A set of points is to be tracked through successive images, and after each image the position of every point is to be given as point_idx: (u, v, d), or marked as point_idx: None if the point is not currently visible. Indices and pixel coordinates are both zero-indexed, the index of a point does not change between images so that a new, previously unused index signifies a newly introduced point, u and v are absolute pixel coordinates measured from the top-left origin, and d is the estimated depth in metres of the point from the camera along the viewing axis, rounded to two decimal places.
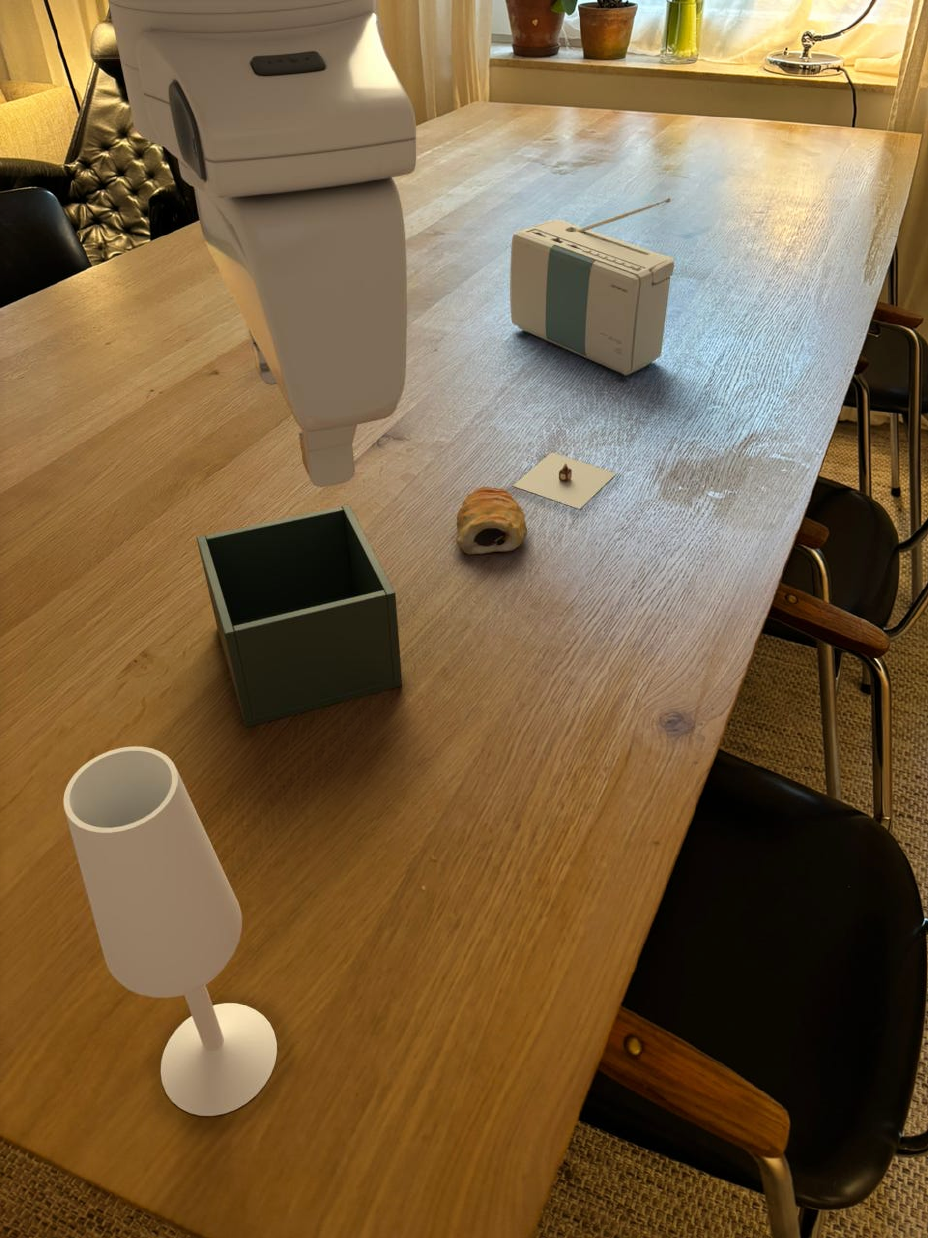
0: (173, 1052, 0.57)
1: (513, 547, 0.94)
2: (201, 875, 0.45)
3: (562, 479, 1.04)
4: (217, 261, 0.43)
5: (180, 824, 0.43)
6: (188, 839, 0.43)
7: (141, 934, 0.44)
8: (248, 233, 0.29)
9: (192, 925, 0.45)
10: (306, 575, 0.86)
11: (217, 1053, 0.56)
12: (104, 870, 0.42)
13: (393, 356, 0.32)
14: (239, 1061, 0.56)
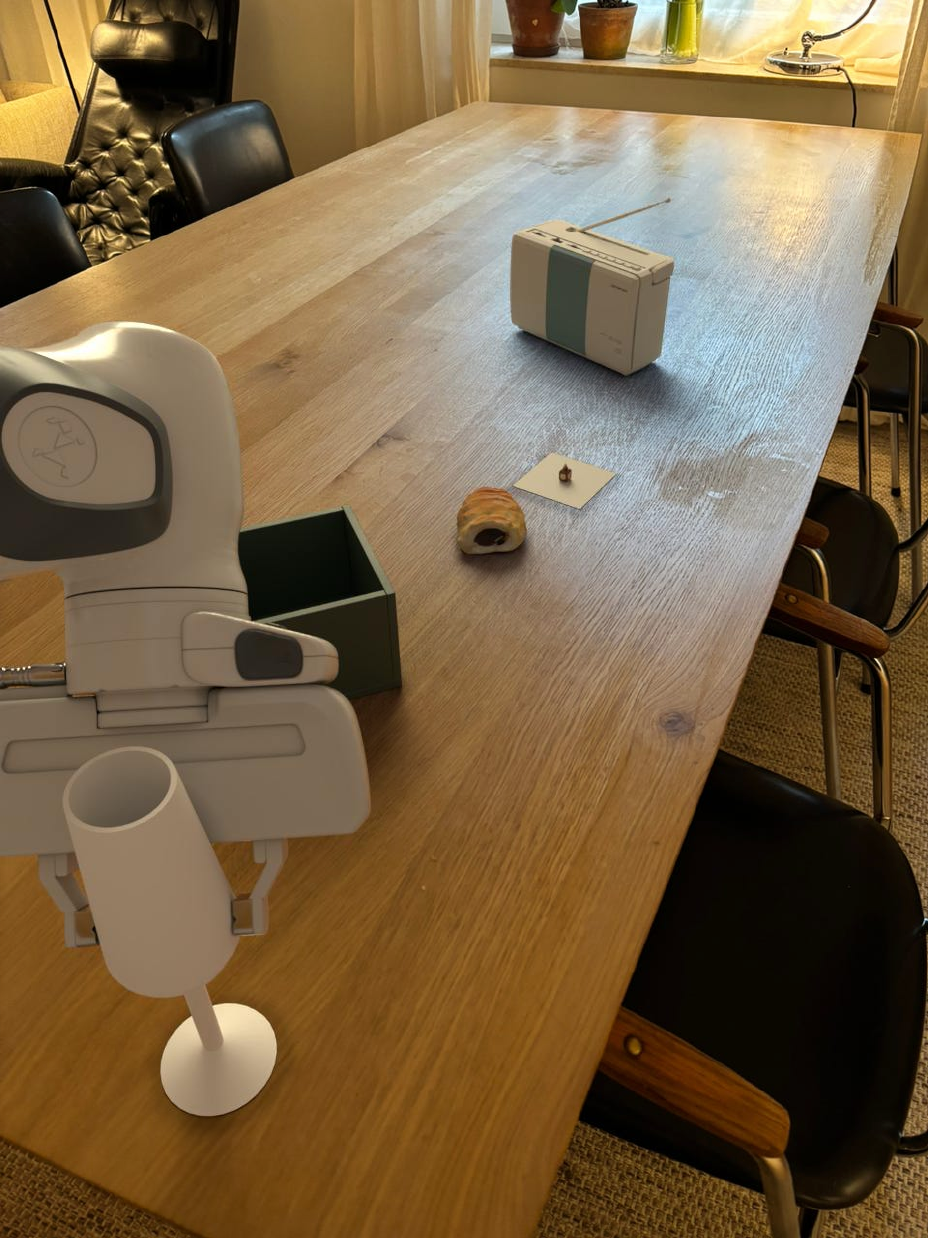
0: (173, 1052, 0.57)
1: (513, 547, 0.94)
2: (200, 875, 0.45)
3: (562, 479, 1.04)
4: (48, 835, 0.47)
5: (179, 824, 0.43)
6: (187, 839, 0.43)
7: (140, 934, 0.44)
8: (334, 697, 0.47)
9: (191, 925, 0.45)
10: (306, 575, 0.86)
11: (217, 1053, 0.56)
12: (103, 870, 0.42)
13: None
14: (239, 1061, 0.56)
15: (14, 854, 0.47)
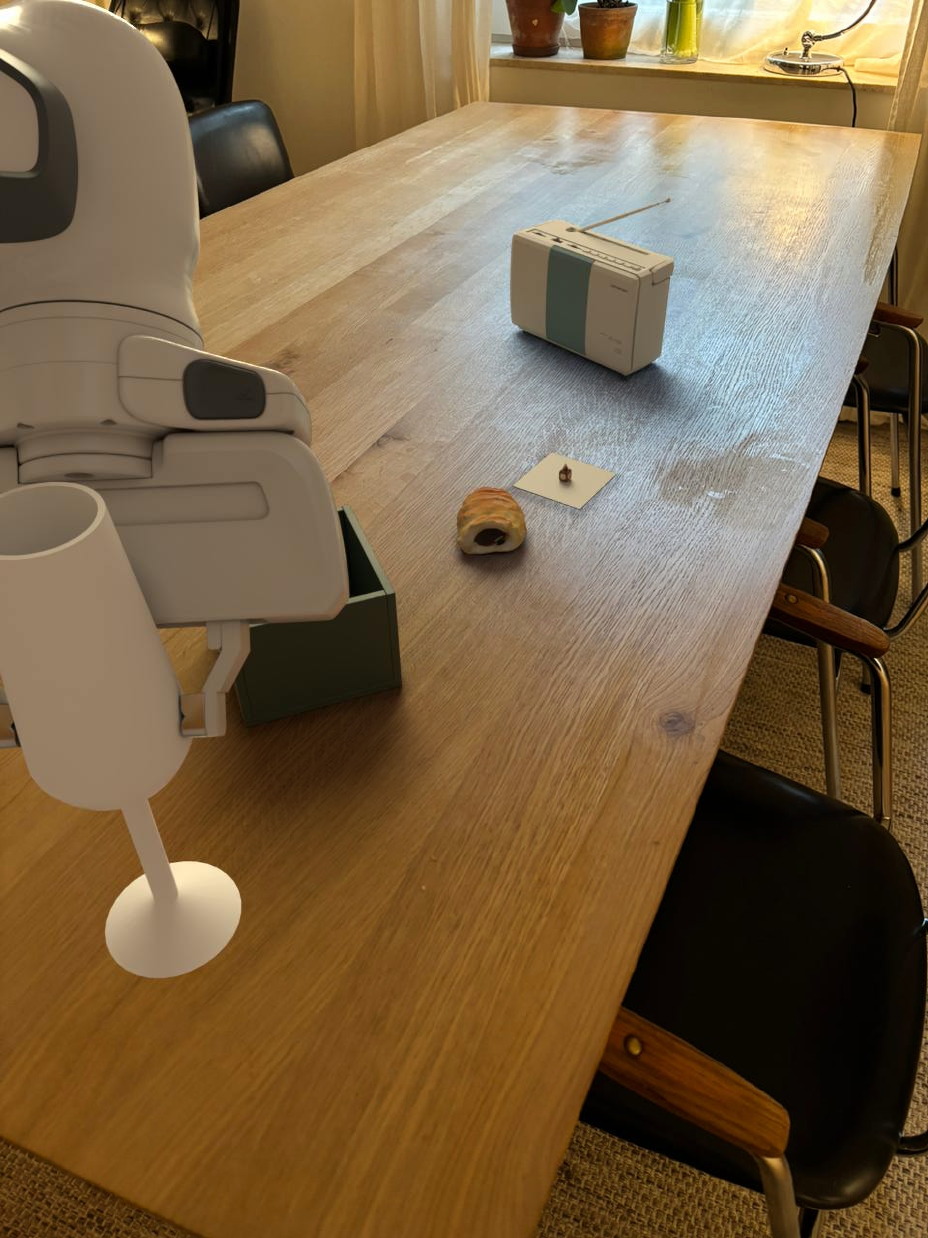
0: (120, 910, 0.49)
1: (513, 547, 0.94)
2: (137, 644, 0.37)
3: (562, 479, 1.04)
4: None
5: (108, 567, 0.34)
6: (119, 591, 0.35)
7: (63, 713, 0.36)
8: (304, 447, 0.39)
9: (127, 708, 0.37)
10: None
11: (170, 907, 0.48)
12: (12, 618, 0.34)
13: (346, 561, 0.43)
14: (196, 917, 0.48)
15: None
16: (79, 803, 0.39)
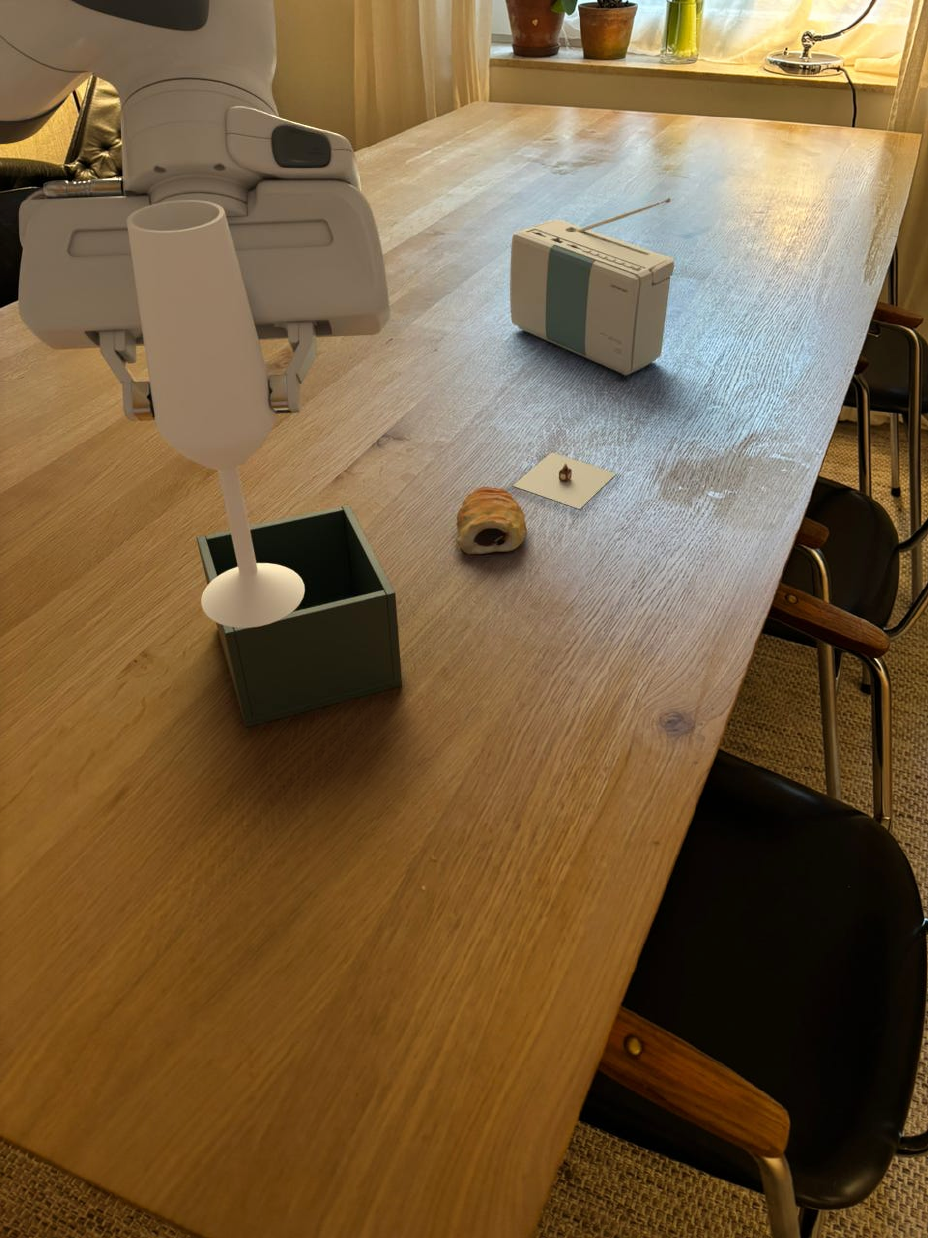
0: (212, 588, 0.64)
1: (513, 547, 0.94)
2: (243, 319, 0.51)
3: (562, 479, 1.04)
4: (109, 308, 0.54)
5: (226, 252, 0.49)
6: (233, 273, 0.50)
7: (192, 365, 0.51)
8: (358, 191, 0.54)
9: (235, 368, 0.52)
10: (306, 575, 0.86)
11: (252, 578, 0.63)
12: (162, 283, 0.48)
13: None
14: (272, 587, 0.63)
15: (79, 325, 0.54)
16: (198, 448, 0.54)
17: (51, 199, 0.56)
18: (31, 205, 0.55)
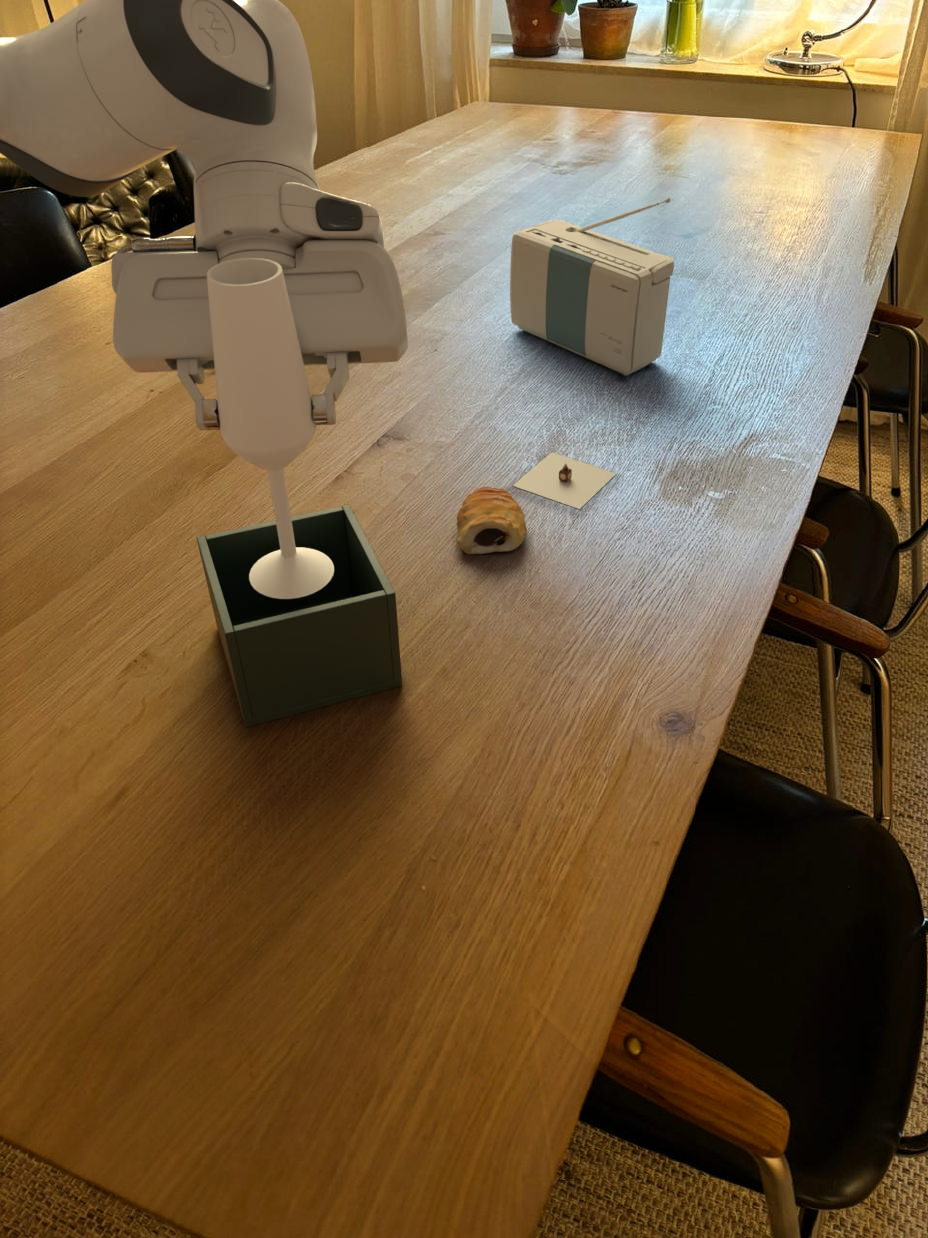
0: (258, 566, 0.78)
1: (513, 547, 0.94)
2: (294, 351, 0.65)
3: (562, 479, 1.04)
4: (185, 340, 0.67)
5: (283, 299, 0.63)
6: (287, 315, 0.64)
7: (254, 387, 0.65)
8: (384, 249, 0.68)
9: (287, 389, 0.66)
10: None
11: (292, 558, 0.77)
12: (233, 323, 0.62)
13: None
14: (308, 566, 0.77)
15: (161, 354, 0.68)
16: (256, 452, 0.67)
17: (137, 252, 0.69)
18: (121, 257, 0.69)
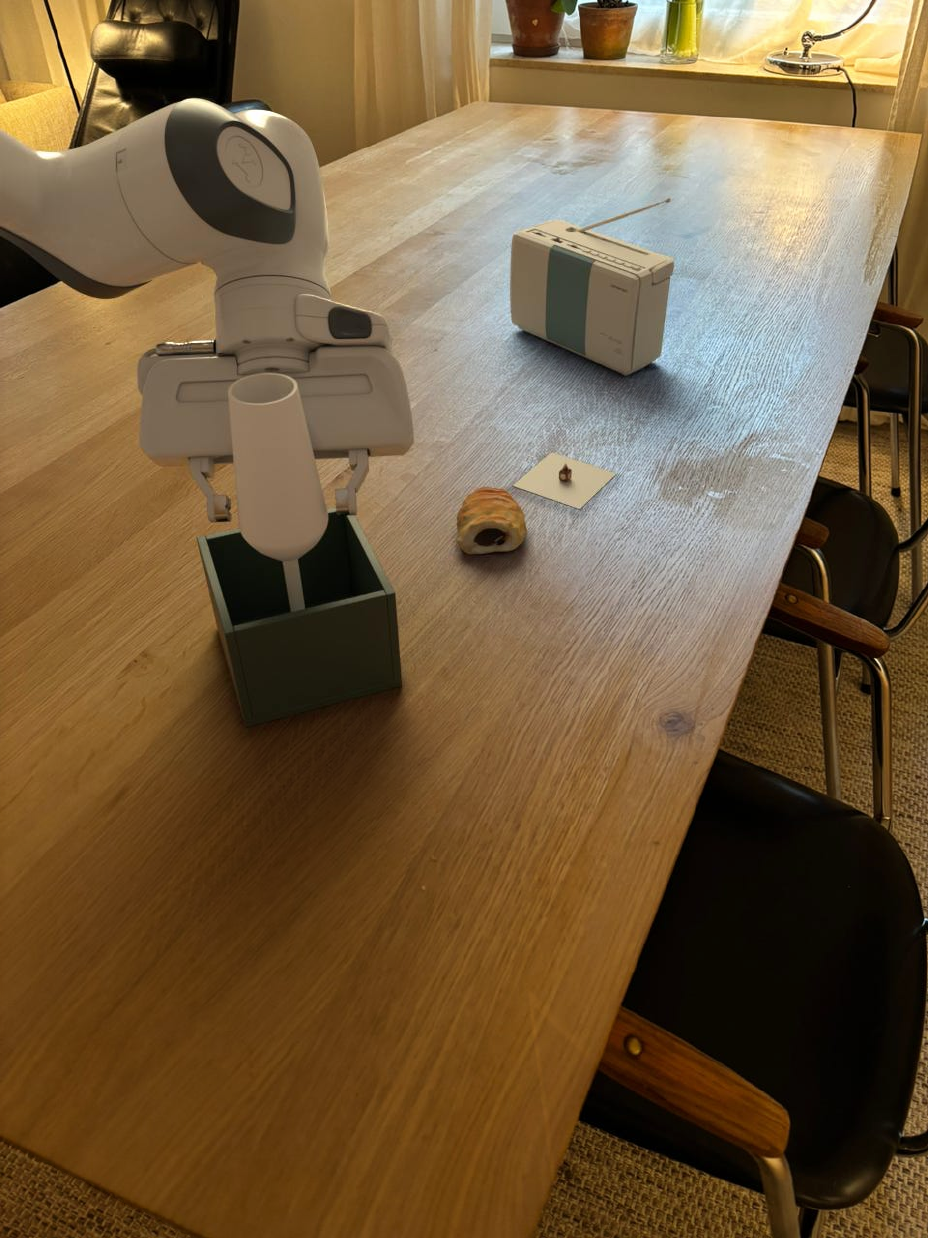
0: None
1: (513, 547, 0.94)
2: (308, 458, 0.70)
3: (562, 479, 1.04)
4: (207, 440, 0.72)
5: (298, 413, 0.68)
6: (302, 427, 0.69)
7: (271, 492, 0.70)
8: (391, 354, 0.73)
9: (302, 492, 0.71)
10: (306, 575, 0.86)
11: None
12: (253, 437, 0.68)
13: None
14: None
15: (184, 453, 0.73)
16: (272, 548, 0.73)
17: (161, 356, 0.74)
18: (146, 361, 0.74)
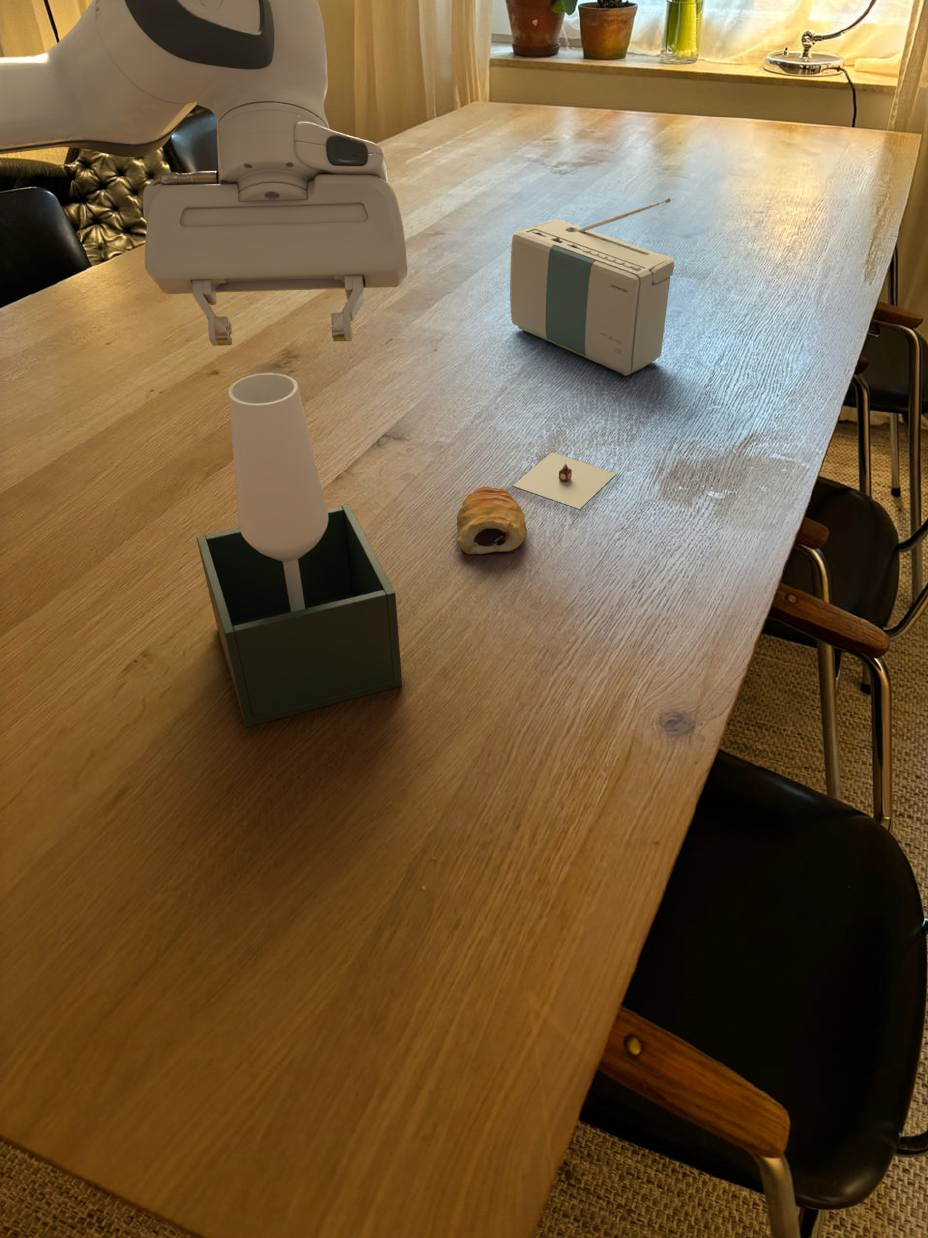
0: None
1: (513, 547, 0.94)
2: (308, 458, 0.70)
3: (562, 479, 1.04)
4: (209, 263, 0.76)
5: (299, 413, 0.68)
6: (302, 427, 0.69)
7: (271, 492, 0.70)
8: (386, 183, 0.76)
9: (302, 492, 0.71)
10: (306, 575, 0.86)
11: None
12: (253, 437, 0.68)
13: None
14: None
15: (187, 275, 0.76)
16: (272, 548, 0.73)
17: (166, 185, 0.78)
18: (152, 189, 0.77)
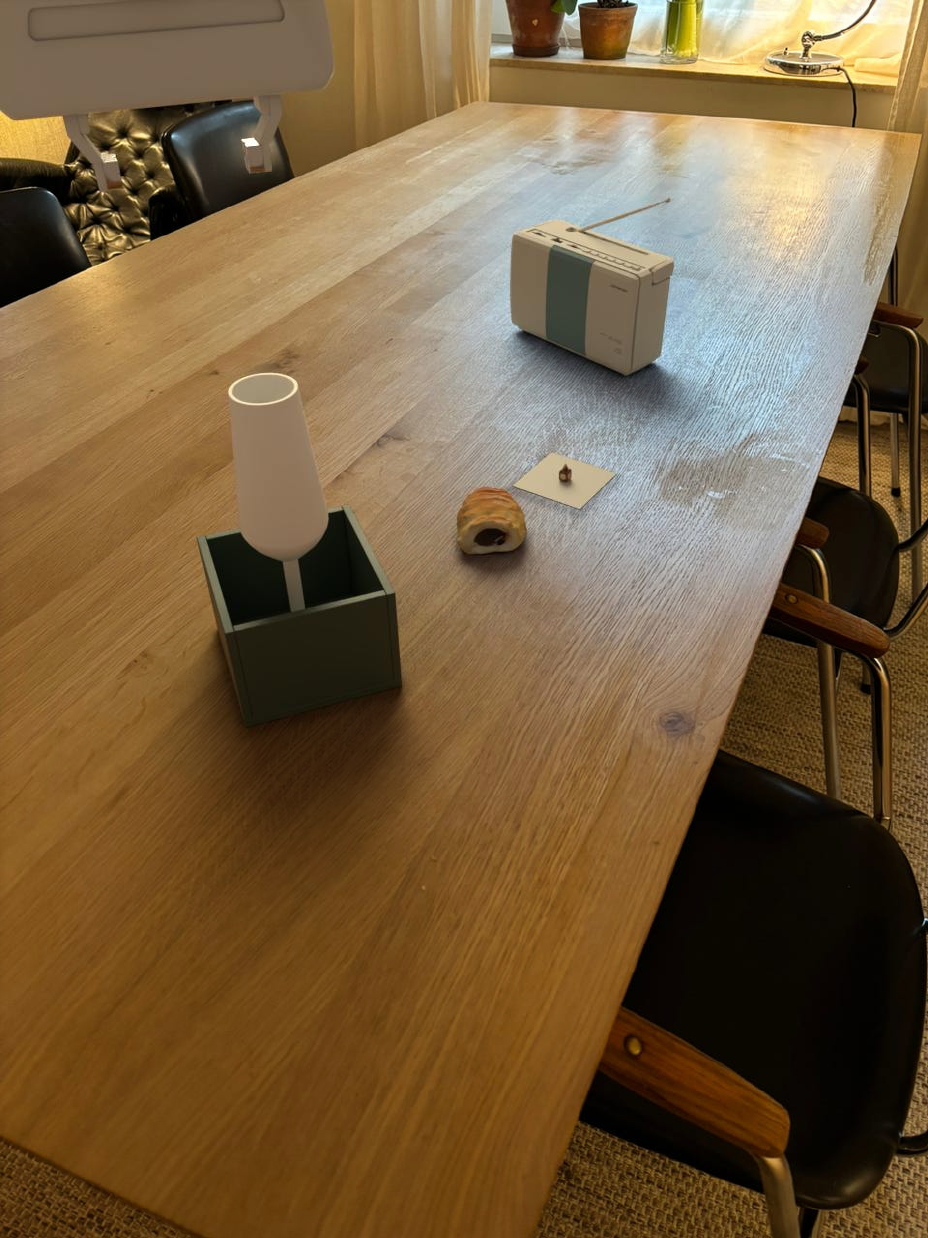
0: None
1: (513, 547, 0.94)
2: (308, 458, 0.70)
3: (562, 479, 1.04)
4: (84, 97, 0.58)
5: (299, 413, 0.68)
6: (302, 427, 0.69)
7: (271, 492, 0.70)
8: None
9: (302, 492, 0.71)
10: (306, 575, 0.86)
11: None
12: (253, 437, 0.68)
13: None
14: None
15: (58, 114, 0.58)
16: (272, 548, 0.73)
17: None
18: None
